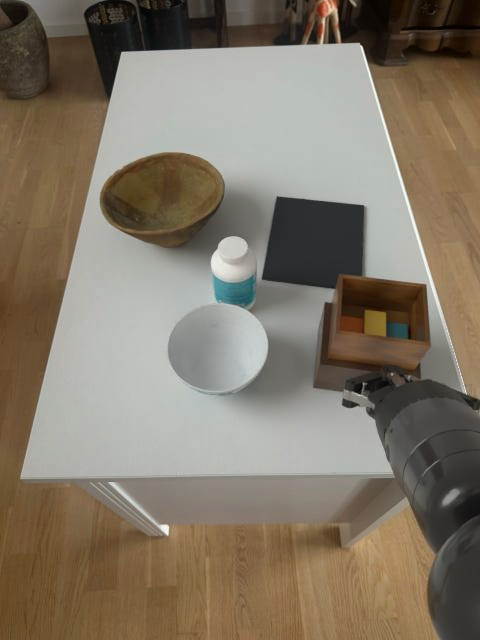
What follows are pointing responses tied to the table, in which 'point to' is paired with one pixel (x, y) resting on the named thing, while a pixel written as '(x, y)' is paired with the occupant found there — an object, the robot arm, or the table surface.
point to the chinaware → (217, 348)
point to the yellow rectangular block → (374, 323)
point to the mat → (314, 242)
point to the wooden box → (400, 307)
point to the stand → (336, 371)
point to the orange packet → (351, 324)
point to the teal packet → (396, 330)
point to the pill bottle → (234, 273)
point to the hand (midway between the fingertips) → (390, 373)
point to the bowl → (162, 197)
